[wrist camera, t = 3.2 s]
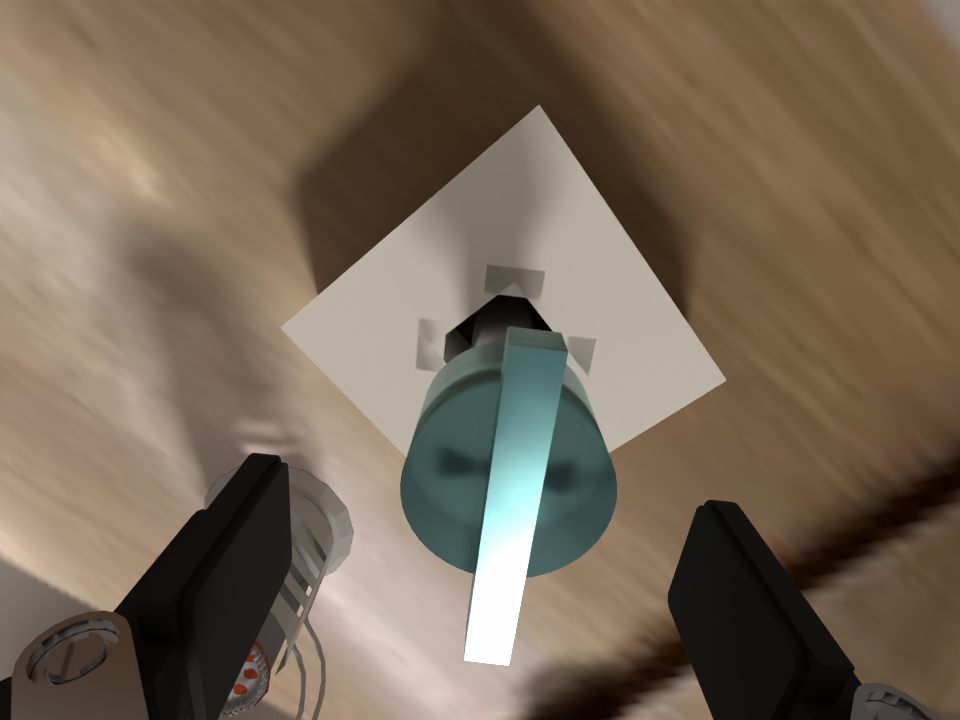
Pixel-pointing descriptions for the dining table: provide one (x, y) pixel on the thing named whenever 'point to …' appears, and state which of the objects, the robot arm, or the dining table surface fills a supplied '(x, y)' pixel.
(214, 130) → the dining table surface
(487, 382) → the teal strapped cylinder
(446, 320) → the block
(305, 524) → the french press
